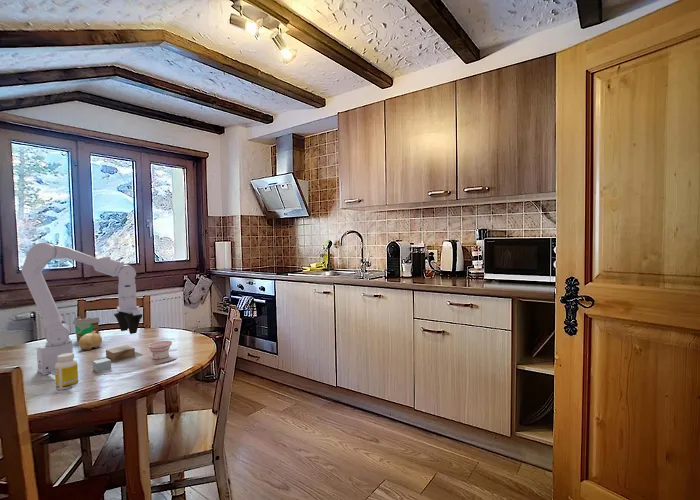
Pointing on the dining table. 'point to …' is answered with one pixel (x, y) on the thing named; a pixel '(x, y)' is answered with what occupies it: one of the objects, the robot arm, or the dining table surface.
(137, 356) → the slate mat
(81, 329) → the food container
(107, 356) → the walnut slab
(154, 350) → the teacup
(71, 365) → the supplement bottle
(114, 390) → the dining table surface
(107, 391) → the dining table surface
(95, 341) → the tan round lump
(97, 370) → the gray cube
